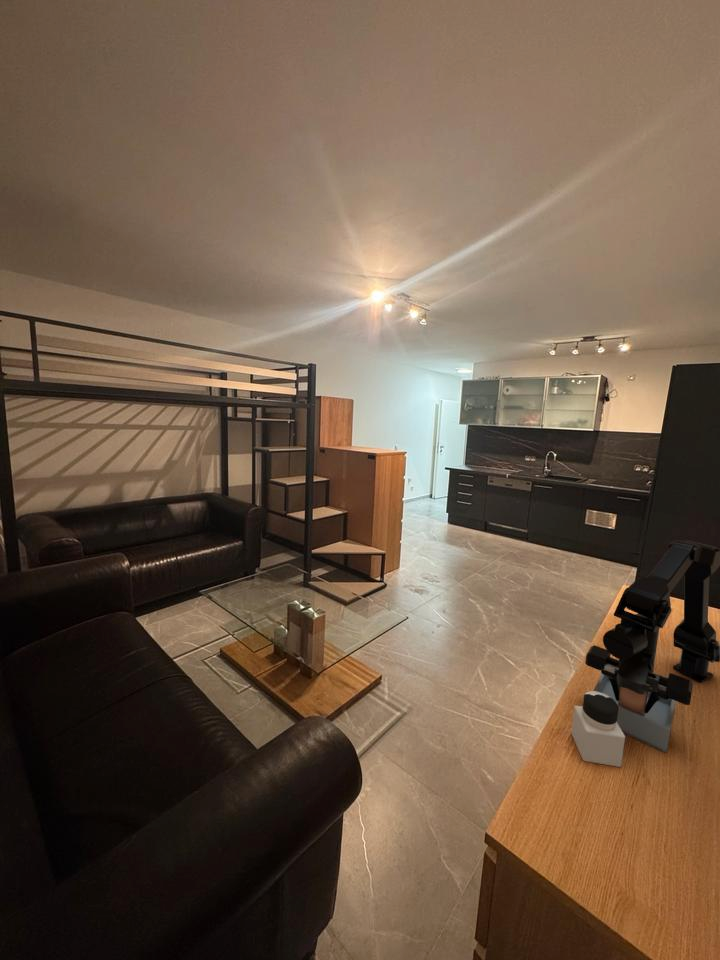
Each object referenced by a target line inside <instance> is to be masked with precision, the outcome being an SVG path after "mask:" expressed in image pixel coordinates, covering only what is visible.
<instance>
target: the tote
mask: <svg viewBox="0 0 720 960" xmlns="http://www.w3.org/2000/svg"><path fill="white" fill-rule="evenodd" d="M592 691H597V692H601V693H604V694H606V695H608V696H609V697H611V698H612V699H613V700H614V701H615V702H616V703H617V705H618V701H616V698H615V695H614V692H613V688H612V685H611V682H610V680H609V678H608V677H607V676H606V675H603V674H602V673H601V674H600V676H599V679H598V680H597V683H596V684H595V687H594V688H593V690H592ZM650 693H651V692H648V696H647V701H648V698H649V695H650ZM676 702H677V701H675V700H672V699H670V698H669V700H665V699H659V700H658V701H657V702H656V703H655V704H654V705H653V707H652V708H651V709H650V711H649V712H648V713H647V714H646V713H645V717H644V716H641V715H639V714H637V713H634V712H632V711H630V710H628V709H625V708H623V707H621V706H619V705H618V707H619V710H618V718H617V723H618V725H619V727H620V728H621V730H622V732H623V734H624V735H627V736H629V737H632V738H633V739H636V740H638V741H640V742H642V743H644V744H646V745H648V746H651V747H652V748H655V749H657V750H659V751H661V752H663V753H664V754H667V752H668V746H669V742H670V735H671V731H672V724H673V719H674V712H675V707H676ZM646 704H647V703H646Z"/></svg>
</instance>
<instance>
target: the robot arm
mask: <svg viewBox="0 0 720 960" xmlns="http://www.w3.org/2000/svg"><path fill="white" fill-rule="evenodd" d="M719 567H720V548H718V547H717V546H713V545H708V544H704V543H700V542H695V541H692V540H686V539H683V540H678V539H676V540H671V542H670V543H669V545H668V550H667V551H666V552H665V553H664V555H663V556H662V557H661V559H660V560H659V561H658V563H657V564H656V565H655V567H654V568H653V569H652V570H651V572H650V574H648V575H647V576H646V577H643V578H638V579H636V580H635V581H633V582H632V583H631V584H630V585H629V586H627V587H626V588H625V590H624V591H623V592H622V595H621V597H620V599H619V601H618V603H617V606H616V609H615V610H614V612H613V616H614V617H616V618H618V619H620V623H617V624H615V626H614V627H613V628H612V629H609V630H608V631H606V632H605V633H604V635H603V636H602V642H603V646H604V647H600V646H598V645H595V644H594V645H592V646H590V647H589V649H588V650H587V653H586V656H585V665H586V666H588V667H590V668H592V669H595V670H597V671H600V673H601V674H603V675H606V676H607V677H608V678H609V680H610V682H611V685H612V688H613V692H614V695H615V698H616V701H618V699H619V691H620V686H621V687H623V688H627V689H629V690H632V691H634V692H636V693H638V694H644V693H645V690H646V691H648V692H651V693H650V695H649V698H648V701H647V704H646V708H645V713H646V714H647V713H648V712H649V711H650V709H651V708H652V707H653V705H654V704H655V703H656V702H657V701H658V700H659V699H665V700H669V698H670V699H672V700H675V701H676V702H677V703H680V704H683V705H685V706H690V705H691V700H692V694H693V693H692V692H693V687H694V686H693V685H694V683H693V682H692V681H691V679H692V680H695V681H696V682H698V683H702V682H703V683H704V682H705V681H707V680H709V679H711V678H713V677H714V673H712V672H710V671H709V666H710V663H720V643H719V641H718V640H717V631H716V629H714V627H713V626H712V625H711V623H710V622H709V600H710V595H709V594H710V593H709V592H710V577H711V576H712V575H713V574H714V572H716V570H717V569H718V568H719ZM683 576H684V577H683ZM682 577H683V579H684V580H683V582H684V583H683V595H684V596H683V619H682V620H681V621H680V622H679V624H678V625H676V627H675V628H674V630H673V639H672V640H673V647H674V648H678V649H681V653H680V659H679V660H680V661H679V663H676V664H674V665H673V666H672V669H674V670H676V671H678V672H679V673H681V674H683V675H684V676H687V677H688V678H686V677H682V676H680V675H678V674H675V673H671V672H669V673H668V676H666V675H663V674H662V673H661V674H660V673H654V668H655V661H656V660H655V659H656V656H657V655H656V653H657V647H658V641H659V634H660V628H661V629H663V628H664V626H665V625H666V622H667V621H668V619H669V617H670V615H671V613H672V604H671V596H670V594H671V593H672V591H673V590H674V589H675V587H676V585H677V584H678V583H679V582H680V580H681V579H682ZM625 609H627V610H629V611H627V610H625ZM630 611H631V612H634V613H631V612H630ZM611 656H612V657H611ZM613 657H614V658H613ZM619 659H620V660H619ZM689 678H691V679H689Z"/></svg>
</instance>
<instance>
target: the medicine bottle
mask: <svg viewBox="0 0 720 960" xmlns="http://www.w3.org/2000/svg"><path fill="white" fill-rule="evenodd" d="M582 699H583V701H582V706H580V705H574V706H573V714H572V724H571V730H570V731H571V733H570V734H571V735H572V737H573V738H572V739H573V740H574V743H575V745H576V747H577V750H578V752H579V755H580V756H581V759H582V761H584V762H588V763H593V764H594V763H595V764H601V765H606V766H607V765H608V766H610V767H611V766H612V767H617V768H618V767H619V768H620V767H622V766H623V757H624V750H625V745H626V744H625V743H626V734H625V733H623V732H622V730H621V728H620V727H619V725H618V723H617V718H618V710H619V707H618V705H617V703H616V702H615V701H614V700H613V699H612V698H611V697H609V696H608V695H606V694H604V693H601V692H597V691H593V690H590V691H587V692H585V693H584V695H583V698H582Z"/></svg>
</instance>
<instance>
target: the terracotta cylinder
mask: <svg viewBox="0 0 720 960" xmlns="http://www.w3.org/2000/svg"><path fill="white" fill-rule="evenodd" d="M647 696H648V691H646V690H645V693H644V694H638V693H636V692H634V691H632V690H629V689H627V688H623V687H621V686H620V691H619V699H618V705H619V706H621V707H623V708H625V709H628V710H630V711H632V712H634V713H637V714H639V715H641V716H644V717H645V708H646V703H647Z"/></svg>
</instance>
